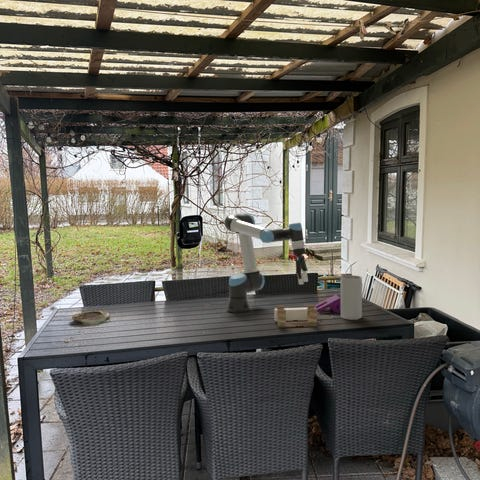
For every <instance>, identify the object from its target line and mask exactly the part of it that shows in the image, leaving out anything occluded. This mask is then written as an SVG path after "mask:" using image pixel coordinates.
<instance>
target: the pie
mask: <svg viewBox="0 0 480 480" xmlns="http://www.w3.org/2000/svg"><path fill="white" fill-rule="evenodd" d="M71 319H72V320H73V321H74V322H75V324H78V325H84V326H91V325H92V326H97V325H98V324H100V325H101V324H102V323H103V324H104V323H106V321H107V323H109V322H110V321H111V313H109V312H108V311H104V310H86V311H83V312H78V313H75V314H72V317H71Z"/></svg>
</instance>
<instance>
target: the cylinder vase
mask: <svg viewBox="0 0 480 480" xmlns="http://www.w3.org/2000/svg"><path fill="white" fill-rule="evenodd" d="M362 295H363V277H362V276H360V275H355V274H354V275H351V274H348V275H347V274H346V275H341V276H340V299H341V312H340V318H341V319H345V320H347V321H349V320H350V321H357V320H359V319H362V316H363V312H362V311H363V308H362V307H363V305H362V304H363V298H362V297H363V296H362Z"/></svg>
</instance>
